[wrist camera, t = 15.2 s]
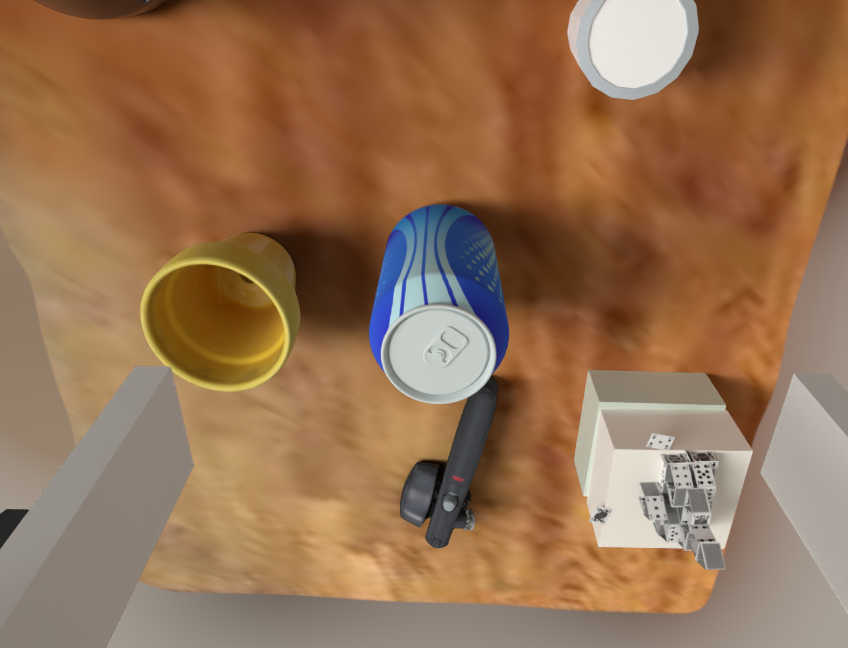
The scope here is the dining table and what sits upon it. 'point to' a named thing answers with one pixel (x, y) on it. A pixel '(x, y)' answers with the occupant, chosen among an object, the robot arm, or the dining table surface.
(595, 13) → the white gray-rimmed cylinder
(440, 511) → the can opener
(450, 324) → the beer can
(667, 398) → the tower bottom block
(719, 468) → the tower top block
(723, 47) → the dining table surface
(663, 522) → the house of cards
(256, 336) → the plant pot
